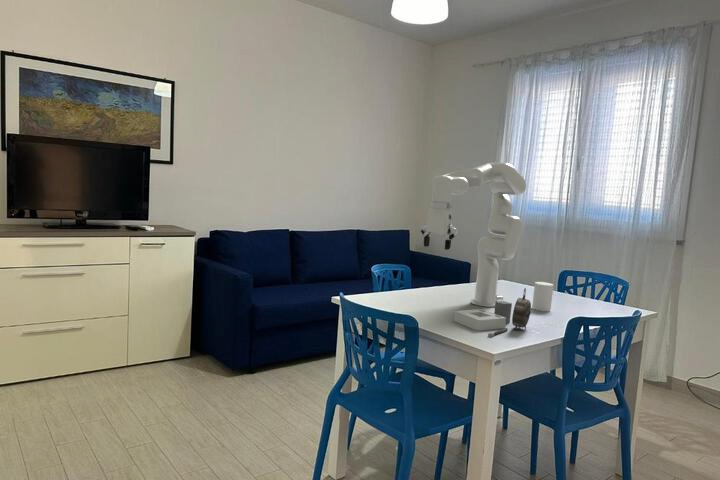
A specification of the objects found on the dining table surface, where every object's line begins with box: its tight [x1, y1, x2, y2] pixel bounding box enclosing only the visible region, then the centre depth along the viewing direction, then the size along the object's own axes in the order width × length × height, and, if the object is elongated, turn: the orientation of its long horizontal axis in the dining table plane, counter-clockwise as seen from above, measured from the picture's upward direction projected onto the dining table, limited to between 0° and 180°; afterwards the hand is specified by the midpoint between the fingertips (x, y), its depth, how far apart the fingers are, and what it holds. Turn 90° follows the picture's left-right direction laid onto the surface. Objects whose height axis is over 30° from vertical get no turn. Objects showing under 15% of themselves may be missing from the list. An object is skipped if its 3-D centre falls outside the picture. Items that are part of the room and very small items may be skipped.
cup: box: [531, 281, 554, 312], centre depth 241 cm, size 8×8×12 cm
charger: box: [493, 300, 513, 324], centre depth 211 cm, size 4×4×8 cm
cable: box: [487, 327, 509, 338], centre depth 192 cm, size 14×1×1 cm, turn 140°
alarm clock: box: [511, 287, 532, 332], centre depth 201 cm, size 11×5×16 cm, turn 150°
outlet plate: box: [453, 308, 507, 331], centre depth 204 cm, size 14×14×4 cm
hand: (436, 247), depth 215 cm, fingers open, 9 cm apart
